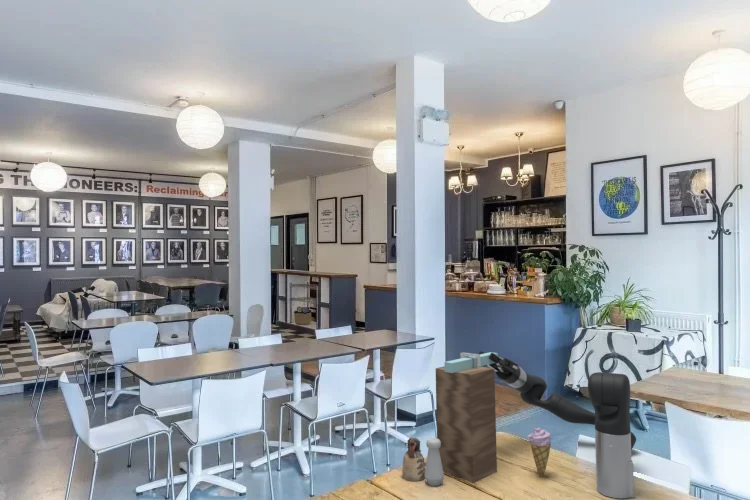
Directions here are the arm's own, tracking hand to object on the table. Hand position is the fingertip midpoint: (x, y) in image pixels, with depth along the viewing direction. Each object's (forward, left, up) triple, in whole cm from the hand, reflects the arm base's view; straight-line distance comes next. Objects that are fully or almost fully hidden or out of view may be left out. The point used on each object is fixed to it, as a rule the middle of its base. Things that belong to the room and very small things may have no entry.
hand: (485, 354), depth 170 cm
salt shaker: (+13, +22, -35) cm, 43 cm away
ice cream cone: (-16, +8, -35) cm, 40 cm away
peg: (+3, +6, -3) cm, 8 cm away
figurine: (+21, +19, -35) cm, 45 cm away
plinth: (+5, +10, -35) cm, 37 cm away
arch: (+4, +7, -3) cm, 9 cm away
